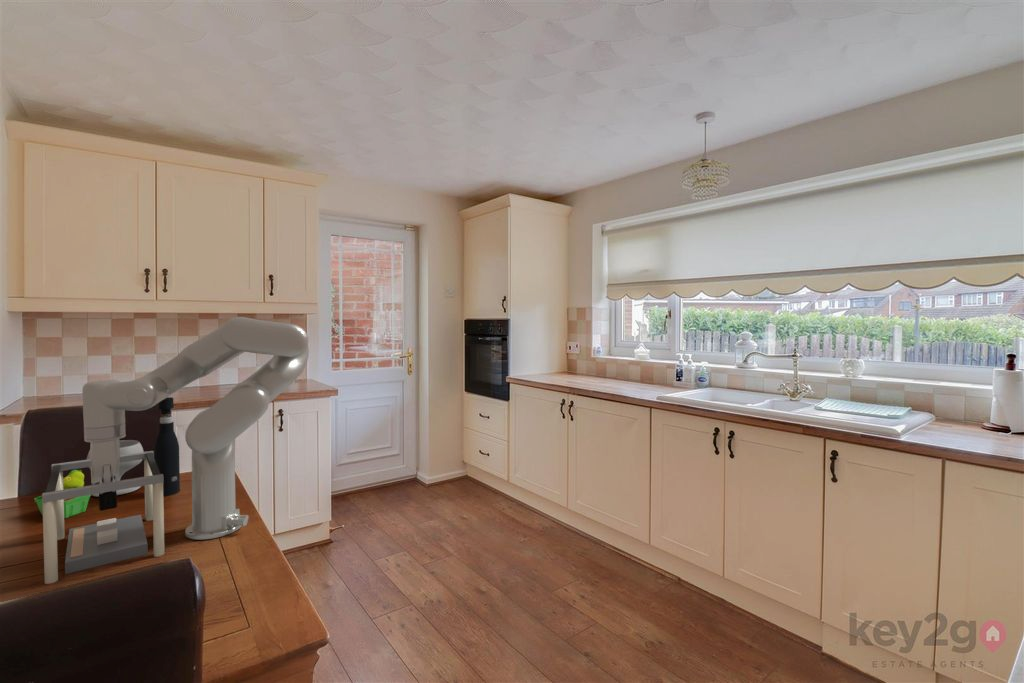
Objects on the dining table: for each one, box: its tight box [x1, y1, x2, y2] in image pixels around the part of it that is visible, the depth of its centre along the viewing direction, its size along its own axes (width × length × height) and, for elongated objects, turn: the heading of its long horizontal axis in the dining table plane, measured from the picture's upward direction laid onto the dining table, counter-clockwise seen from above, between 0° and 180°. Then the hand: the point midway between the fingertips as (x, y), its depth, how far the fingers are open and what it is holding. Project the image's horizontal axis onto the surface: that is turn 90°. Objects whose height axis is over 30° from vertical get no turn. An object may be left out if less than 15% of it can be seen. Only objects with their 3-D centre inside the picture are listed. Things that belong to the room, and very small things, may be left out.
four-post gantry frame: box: [42, 459, 165, 585], centre depth 114 cm, size 28×20×17 cm
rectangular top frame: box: [41, 450, 164, 503], centre depth 114 cm, size 28×20×2 cm
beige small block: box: [96, 517, 117, 532], centre depth 117 cm, size 2×4×2 cm, turn 131°
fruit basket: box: [34, 469, 92, 519], centre depth 135 cm, size 11×9×11 cm
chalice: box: [86, 439, 145, 498], centre depth 152 cm, size 14×14×15 cm
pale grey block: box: [97, 528, 118, 545], centre depth 111 cm, size 2×4×2 cm, turn 131°
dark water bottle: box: [153, 396, 181, 497], centre depth 150 cm, size 6×6×30 cm
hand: (108, 508), depth 115 cm, fingers closed
